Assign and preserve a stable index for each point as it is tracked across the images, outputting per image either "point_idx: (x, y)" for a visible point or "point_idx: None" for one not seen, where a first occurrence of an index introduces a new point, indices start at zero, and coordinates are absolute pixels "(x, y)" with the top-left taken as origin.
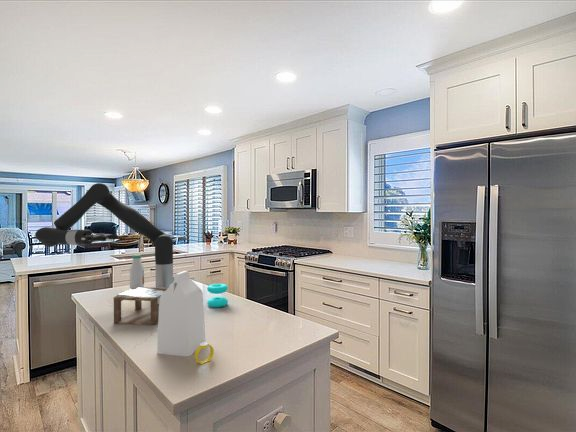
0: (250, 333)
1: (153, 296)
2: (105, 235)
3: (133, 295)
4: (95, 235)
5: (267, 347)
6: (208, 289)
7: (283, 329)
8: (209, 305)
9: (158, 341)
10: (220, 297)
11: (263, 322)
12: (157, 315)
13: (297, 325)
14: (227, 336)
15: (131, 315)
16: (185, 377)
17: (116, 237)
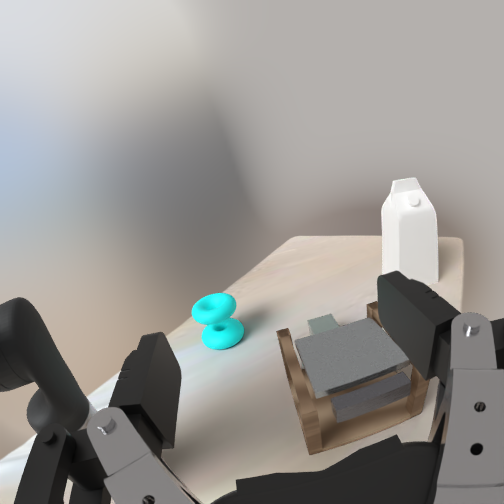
0: (333, 262)
1: (355, 326)
2: (160, 461)
3: (389, 345)
4: (465, 371)
5: (357, 244)
6: (230, 311)
7: (307, 253)
8: (240, 338)
9: (437, 267)
10: (213, 325)
11: (293, 269)
12: None
13: (289, 252)
14: (355, 269)
15: (367, 417)
16: (442, 248)
17: (173, 356)
